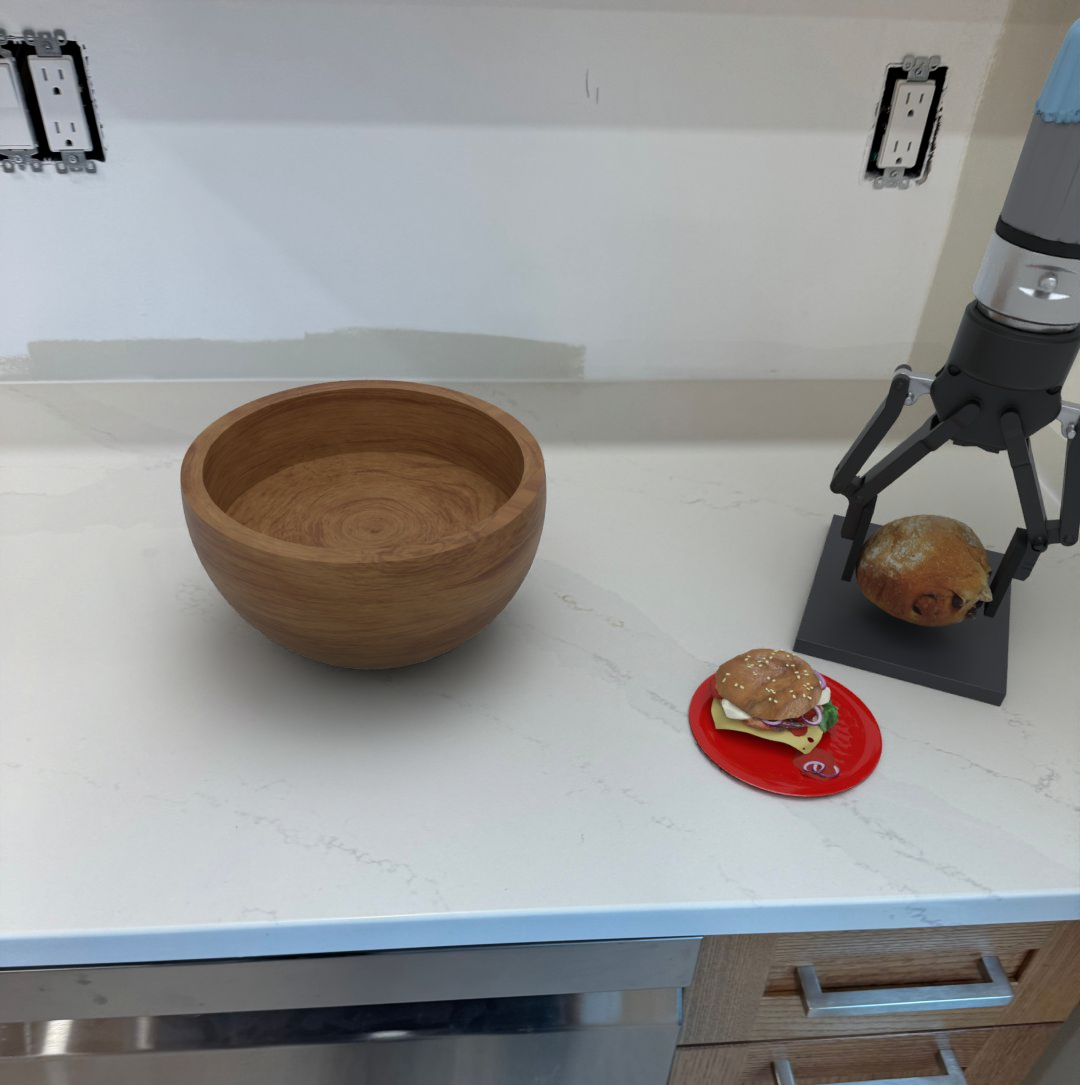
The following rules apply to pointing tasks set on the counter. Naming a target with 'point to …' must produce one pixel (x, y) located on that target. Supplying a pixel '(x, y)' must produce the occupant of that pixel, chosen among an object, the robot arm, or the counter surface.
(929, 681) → the scale
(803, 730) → the hamburger
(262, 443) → the bowl
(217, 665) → the counter surface
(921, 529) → the bread roll
